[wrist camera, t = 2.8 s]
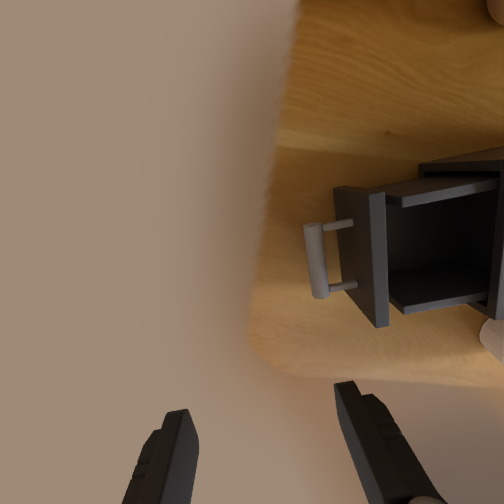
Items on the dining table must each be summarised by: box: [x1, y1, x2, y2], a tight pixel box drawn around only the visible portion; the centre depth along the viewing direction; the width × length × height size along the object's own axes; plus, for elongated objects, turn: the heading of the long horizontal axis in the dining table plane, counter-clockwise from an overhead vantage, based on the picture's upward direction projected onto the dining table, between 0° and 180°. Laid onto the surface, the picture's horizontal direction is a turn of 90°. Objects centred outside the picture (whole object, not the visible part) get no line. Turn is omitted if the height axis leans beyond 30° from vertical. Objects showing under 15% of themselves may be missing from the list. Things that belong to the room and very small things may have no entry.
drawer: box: [303, 171, 501, 328], centre depth 23 cm, size 18×11×8 cm, turn 101°
